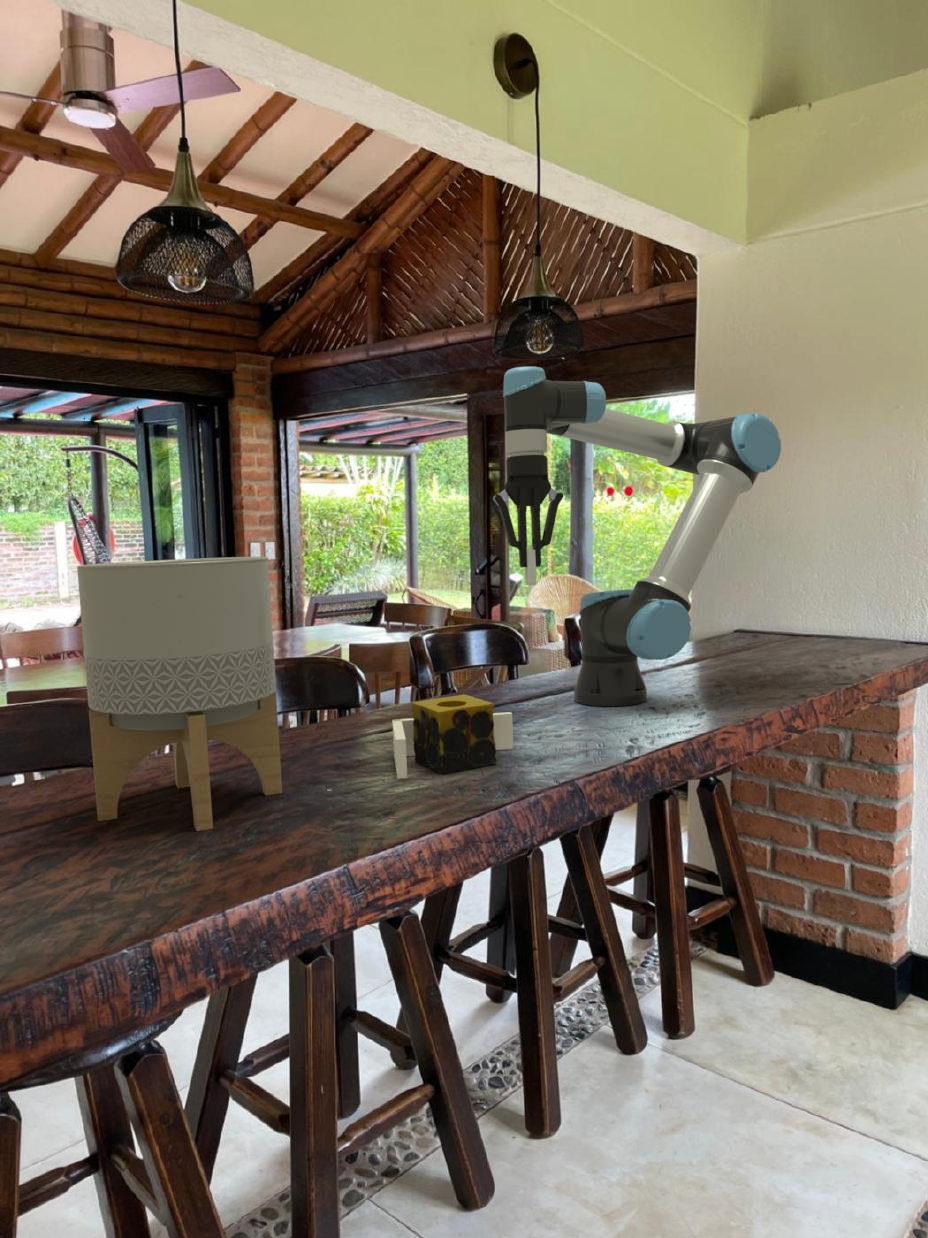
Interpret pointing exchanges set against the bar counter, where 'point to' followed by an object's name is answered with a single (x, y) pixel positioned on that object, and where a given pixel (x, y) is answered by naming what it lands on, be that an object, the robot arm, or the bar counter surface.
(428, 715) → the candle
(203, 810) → the planter
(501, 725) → the white angular piece
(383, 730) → the bar counter surface
